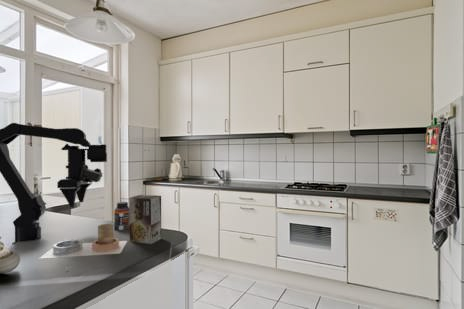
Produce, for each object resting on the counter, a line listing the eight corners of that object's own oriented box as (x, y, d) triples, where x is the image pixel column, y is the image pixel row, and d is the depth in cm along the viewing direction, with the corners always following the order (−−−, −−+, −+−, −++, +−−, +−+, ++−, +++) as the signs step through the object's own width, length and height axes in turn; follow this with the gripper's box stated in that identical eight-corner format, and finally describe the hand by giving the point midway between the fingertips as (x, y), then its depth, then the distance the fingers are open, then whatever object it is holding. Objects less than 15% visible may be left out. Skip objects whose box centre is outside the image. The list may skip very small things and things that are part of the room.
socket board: (38, 262, 78) (38, 258, 78) (56, 247, 90) (56, 244, 90) (120, 256, 82) (120, 253, 82) (127, 243, 94) (127, 240, 94)
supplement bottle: (124, 233, 106) (124, 204, 106) (111, 232, 107) (110, 203, 107) (133, 229, 112) (133, 201, 112) (120, 228, 113) (120, 200, 113)
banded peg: (95, 250, 84) (95, 228, 84) (100, 245, 89) (100, 224, 89) (111, 249, 85) (111, 227, 85) (115, 244, 90) (115, 223, 90)
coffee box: (162, 241, 97) (162, 195, 96) (151, 247, 90) (151, 198, 90) (140, 238, 100) (140, 194, 99) (128, 244, 93) (128, 196, 93)
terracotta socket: (89, 252, 83) (89, 246, 82) (96, 244, 90) (96, 238, 90) (115, 251, 84) (115, 244, 84) (121, 243, 91) (120, 237, 91)
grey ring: (48, 255, 80) (48, 248, 80) (59, 246, 88) (59, 240, 88) (76, 253, 82) (76, 246, 82) (85, 245, 89) (85, 239, 89)
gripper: (92, 163, 94) (92, 208, 94) (106, 161, 112) (106, 199, 113) (56, 163, 92) (56, 209, 92) (76, 161, 110) (77, 200, 110)
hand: (77, 204), depth 102 cm, fingers open, 9 cm apart
